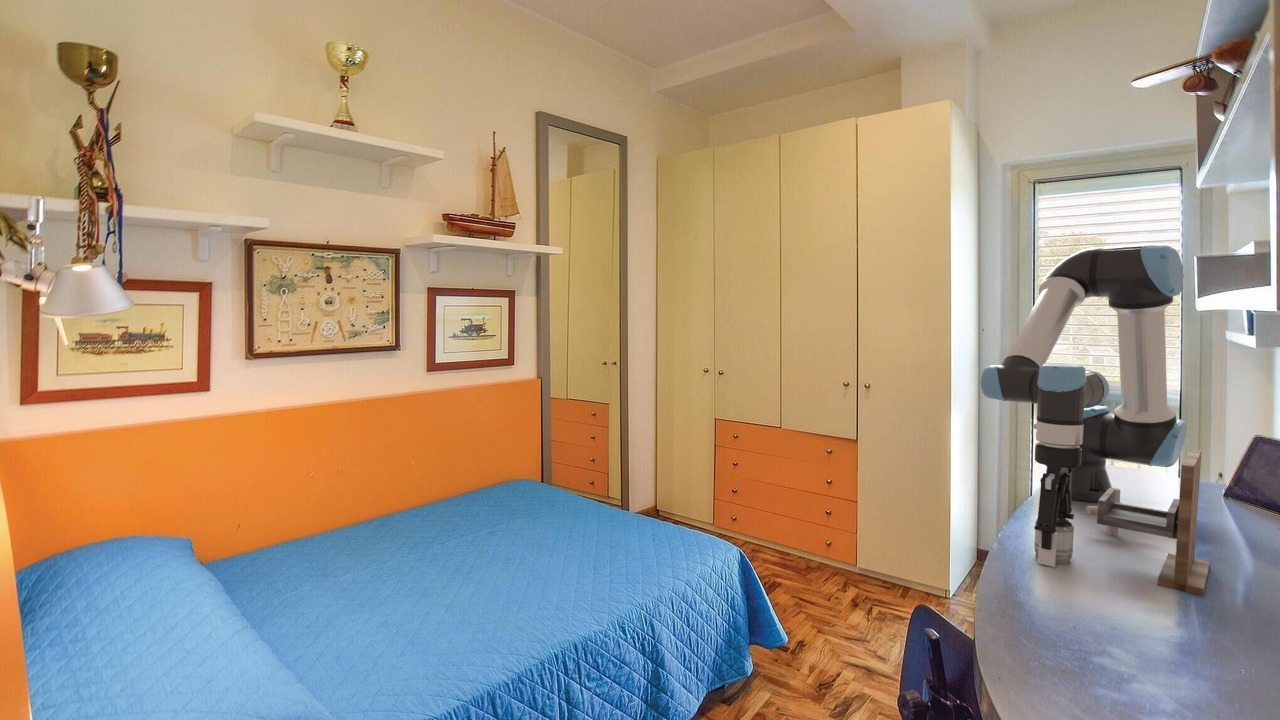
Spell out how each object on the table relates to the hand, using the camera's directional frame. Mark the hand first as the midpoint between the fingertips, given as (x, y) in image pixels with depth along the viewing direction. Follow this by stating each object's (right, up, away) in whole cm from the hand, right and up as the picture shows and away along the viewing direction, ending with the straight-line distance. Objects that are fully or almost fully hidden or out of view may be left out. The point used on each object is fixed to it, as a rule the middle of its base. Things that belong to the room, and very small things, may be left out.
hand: (1052, 557), depth 123 cm
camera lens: (0, -1, 0) cm, 0 cm away
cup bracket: (+15, -1, -5) cm, 16 cm away
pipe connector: (+21, +1, +13) cm, 25 cm away
